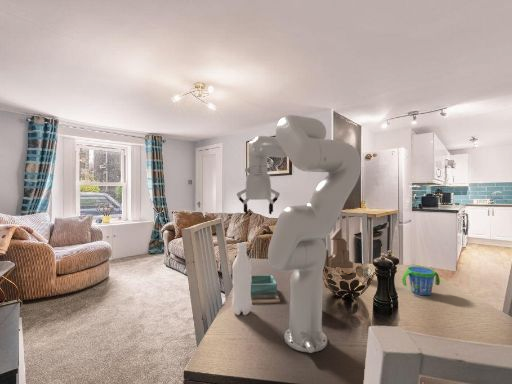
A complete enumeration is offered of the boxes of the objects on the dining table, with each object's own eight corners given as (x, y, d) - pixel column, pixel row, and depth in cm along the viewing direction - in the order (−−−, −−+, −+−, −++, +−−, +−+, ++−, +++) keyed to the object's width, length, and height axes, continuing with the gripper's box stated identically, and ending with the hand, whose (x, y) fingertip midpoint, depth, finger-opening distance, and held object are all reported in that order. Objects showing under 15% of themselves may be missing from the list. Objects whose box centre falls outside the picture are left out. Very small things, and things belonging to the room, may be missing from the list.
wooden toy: (345, 270, 150) (345, 225, 149) (353, 274, 143) (353, 227, 143) (320, 273, 145) (321, 226, 144) (328, 277, 138) (328, 228, 138)
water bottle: (230, 309, 101) (230, 243, 101) (248, 306, 103) (248, 241, 103) (234, 318, 94) (234, 247, 94) (254, 315, 96) (254, 245, 96)
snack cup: (408, 297, 113) (408, 273, 113) (396, 287, 124) (397, 265, 124) (447, 298, 112) (447, 274, 112) (432, 288, 123) (432, 266, 123)
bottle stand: (279, 302, 107) (279, 287, 107) (247, 303, 106) (247, 288, 106) (273, 287, 123) (273, 274, 123) (244, 288, 122) (244, 275, 122)
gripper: (236, 170, 104) (236, 215, 104) (280, 170, 105) (281, 214, 105) (236, 172, 111) (236, 213, 111) (278, 172, 113) (278, 213, 112)
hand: (258, 214), depth 108 cm, fingers open, 9 cm apart
